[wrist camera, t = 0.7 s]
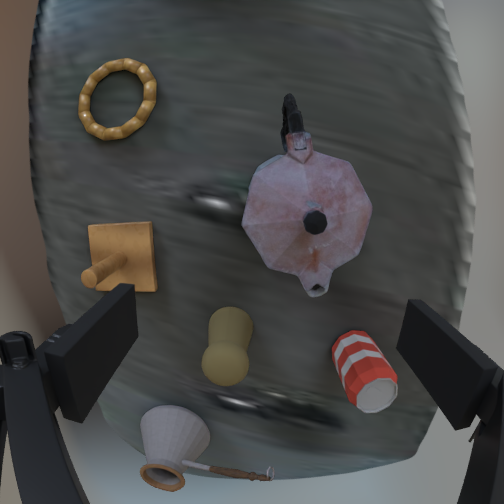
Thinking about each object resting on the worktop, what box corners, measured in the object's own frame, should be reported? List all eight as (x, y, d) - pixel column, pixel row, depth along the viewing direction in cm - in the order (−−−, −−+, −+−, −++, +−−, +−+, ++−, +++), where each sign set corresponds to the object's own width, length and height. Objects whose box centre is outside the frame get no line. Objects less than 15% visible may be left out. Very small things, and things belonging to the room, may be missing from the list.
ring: (84, 70, 35) (79, 67, 33) (159, 55, 35) (155, 50, 33) (81, 145, 37) (75, 144, 36) (157, 135, 37) (153, 133, 35)
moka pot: (259, 258, 40) (263, 331, 21) (230, 136, 37) (206, 95, 18) (333, 241, 40) (398, 297, 20) (306, 120, 37) (355, 69, 17)
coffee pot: (162, 446, 48) (143, 509, 34) (133, 400, 46) (102, 464, 31) (278, 429, 47) (284, 500, 32) (259, 378, 45) (262, 453, 30)
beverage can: (353, 319, 42) (383, 365, 31) (379, 345, 43) (410, 392, 32) (321, 348, 43) (341, 400, 32) (348, 372, 44) (371, 423, 33)
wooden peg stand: (91, 224, 40) (50, 238, 30) (152, 221, 39) (121, 235, 30) (99, 287, 42) (63, 316, 32) (158, 288, 41) (132, 320, 32)
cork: (245, 351, 43) (243, 399, 33) (203, 339, 43) (190, 385, 32) (259, 313, 42) (260, 356, 31) (214, 300, 42) (202, 340, 31)
